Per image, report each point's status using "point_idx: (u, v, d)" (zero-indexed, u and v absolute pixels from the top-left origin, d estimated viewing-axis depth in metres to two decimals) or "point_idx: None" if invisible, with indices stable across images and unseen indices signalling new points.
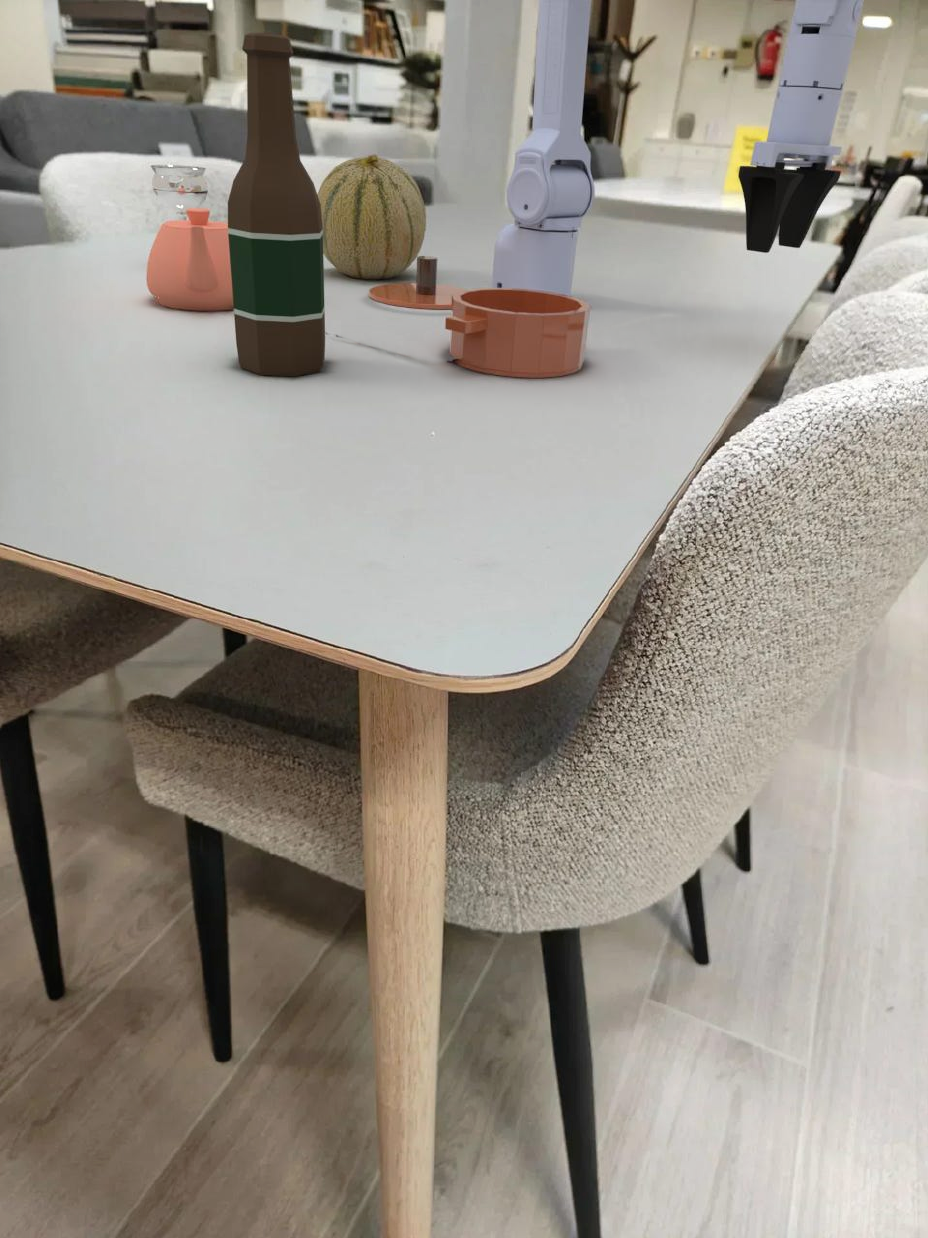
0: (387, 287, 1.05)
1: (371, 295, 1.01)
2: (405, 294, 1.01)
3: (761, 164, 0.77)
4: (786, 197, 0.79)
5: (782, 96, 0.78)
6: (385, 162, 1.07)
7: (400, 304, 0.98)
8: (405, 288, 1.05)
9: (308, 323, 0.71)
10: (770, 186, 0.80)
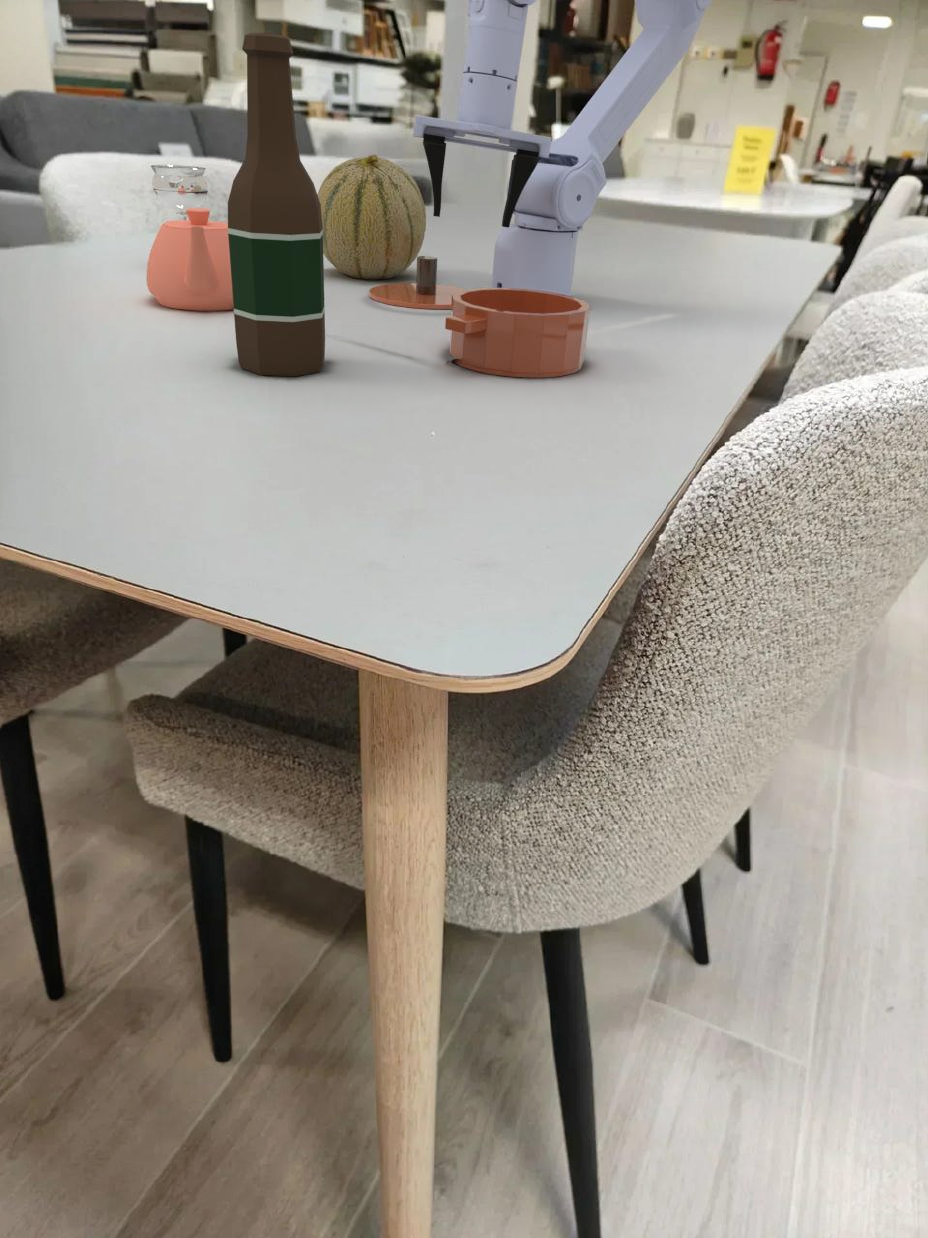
0: (387, 287, 1.05)
1: (371, 295, 1.01)
2: (405, 294, 1.01)
3: None
4: (434, 164, 0.90)
5: None
6: (385, 162, 1.07)
7: (400, 304, 0.98)
8: (405, 288, 1.05)
9: (308, 323, 0.71)
10: None
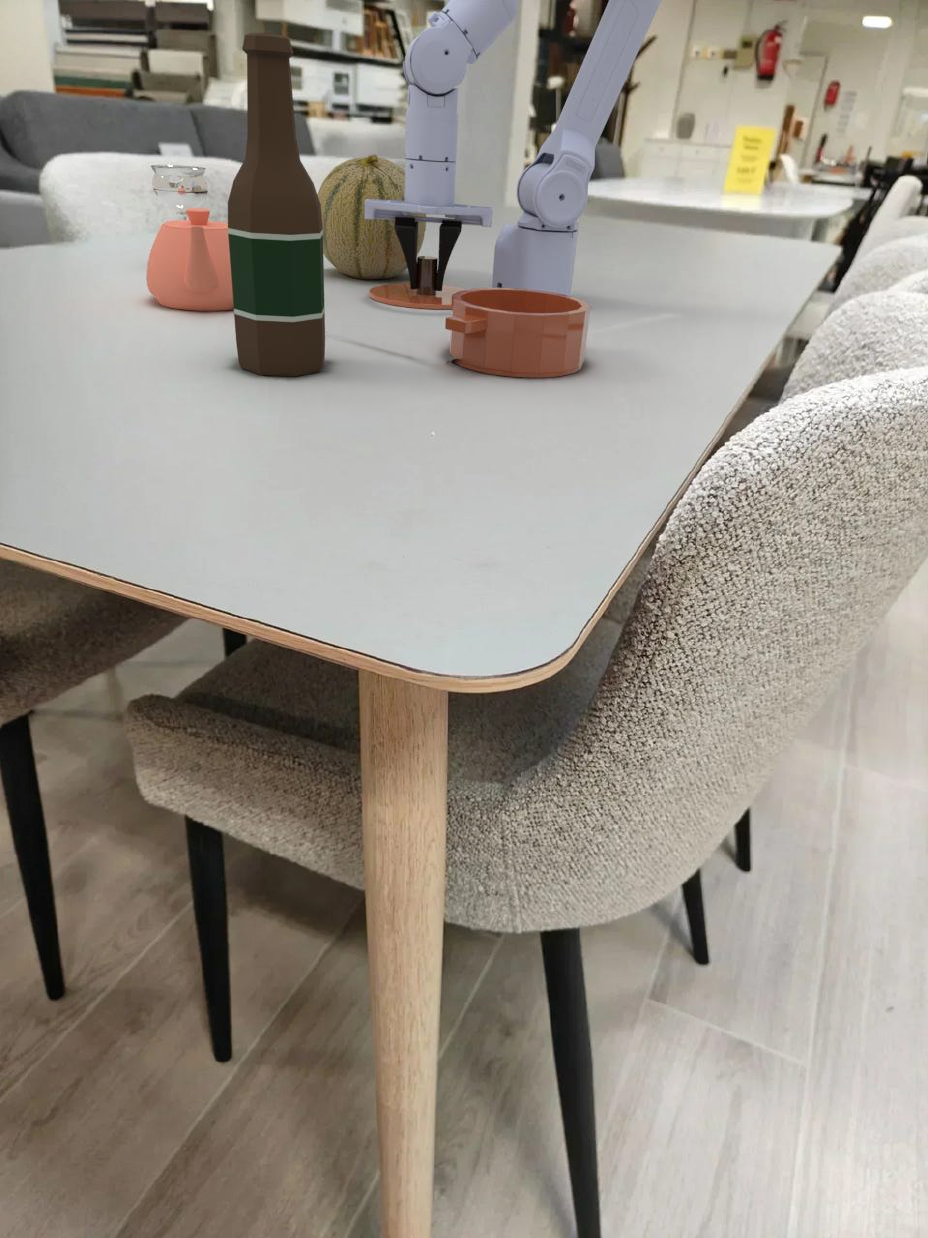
0: (387, 287, 1.05)
1: (371, 295, 1.01)
2: (405, 294, 1.01)
3: None
4: (406, 245, 0.98)
5: None
6: (385, 162, 1.07)
7: (400, 304, 0.98)
8: (405, 288, 1.05)
9: (308, 323, 0.71)
10: None
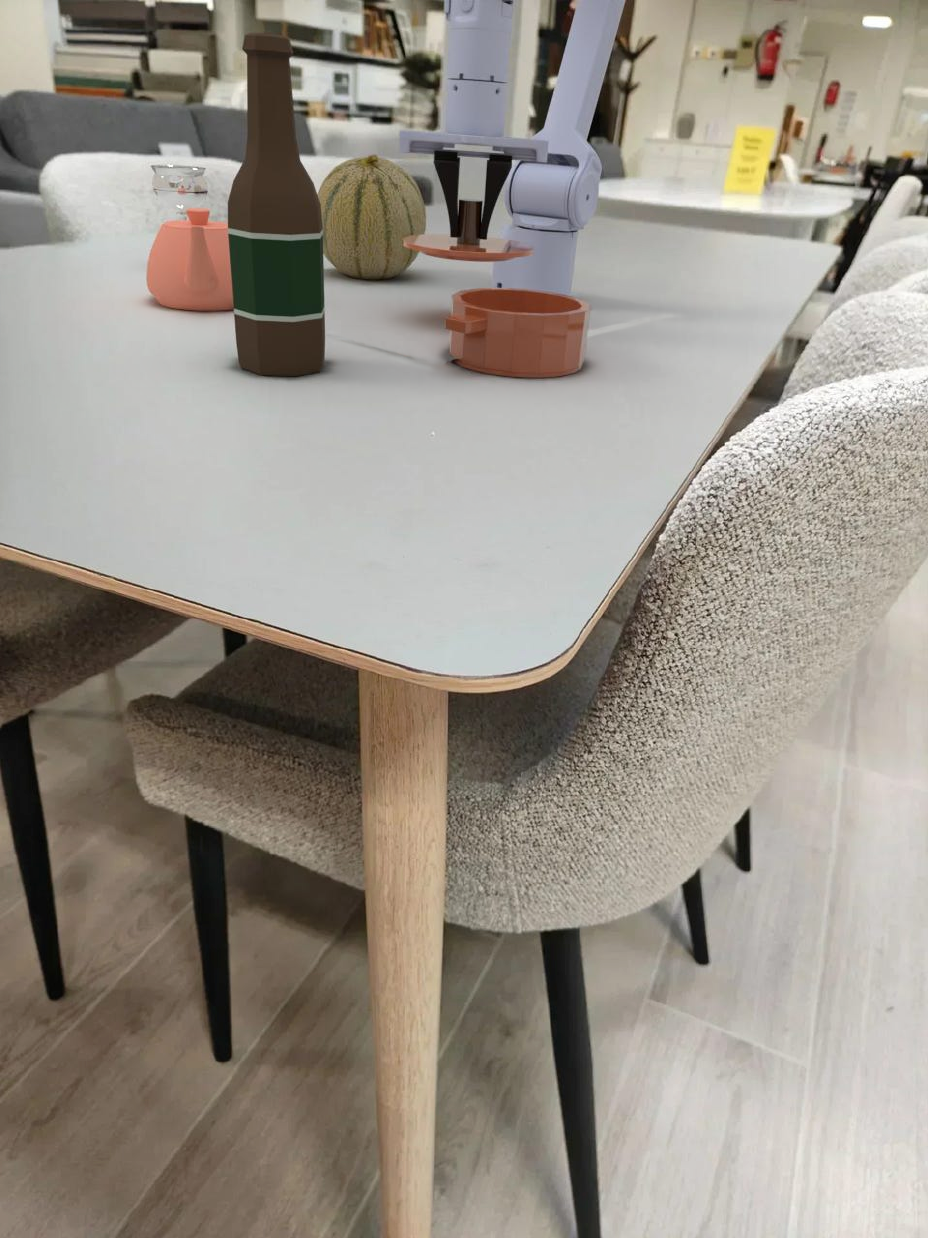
0: (423, 237, 0.90)
1: (405, 243, 0.86)
2: (445, 243, 0.87)
3: None
4: (447, 184, 0.84)
5: None
6: (385, 162, 1.07)
7: (440, 252, 0.83)
8: (443, 238, 0.91)
9: (308, 323, 0.71)
10: None
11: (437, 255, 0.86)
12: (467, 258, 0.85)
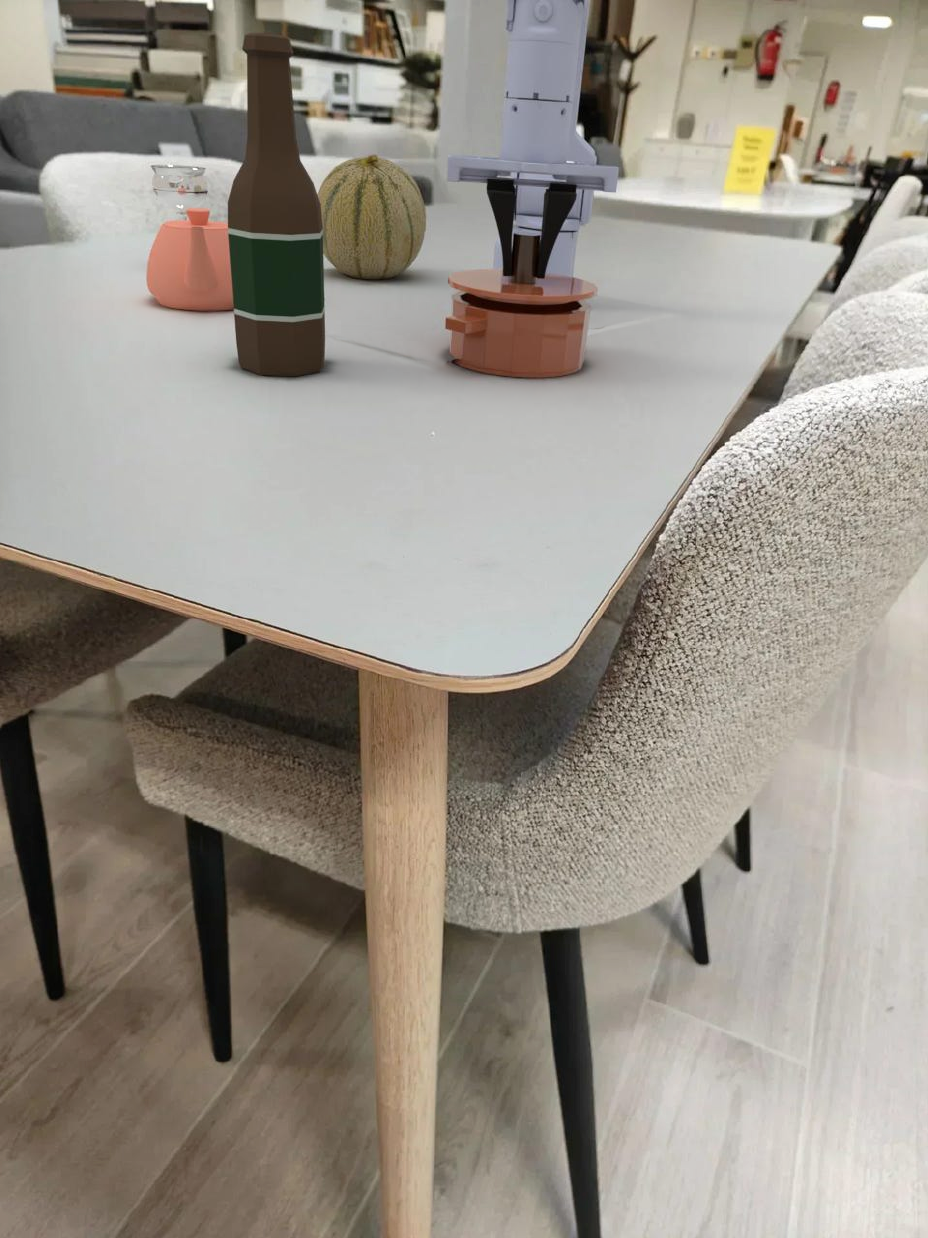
0: (470, 274, 0.80)
1: (453, 284, 0.76)
2: (497, 282, 0.77)
3: None
4: (502, 217, 0.74)
5: None
6: (385, 162, 1.07)
7: (495, 295, 0.73)
8: (493, 275, 0.80)
9: (308, 323, 0.71)
10: None
11: (490, 297, 0.75)
12: (525, 301, 0.74)
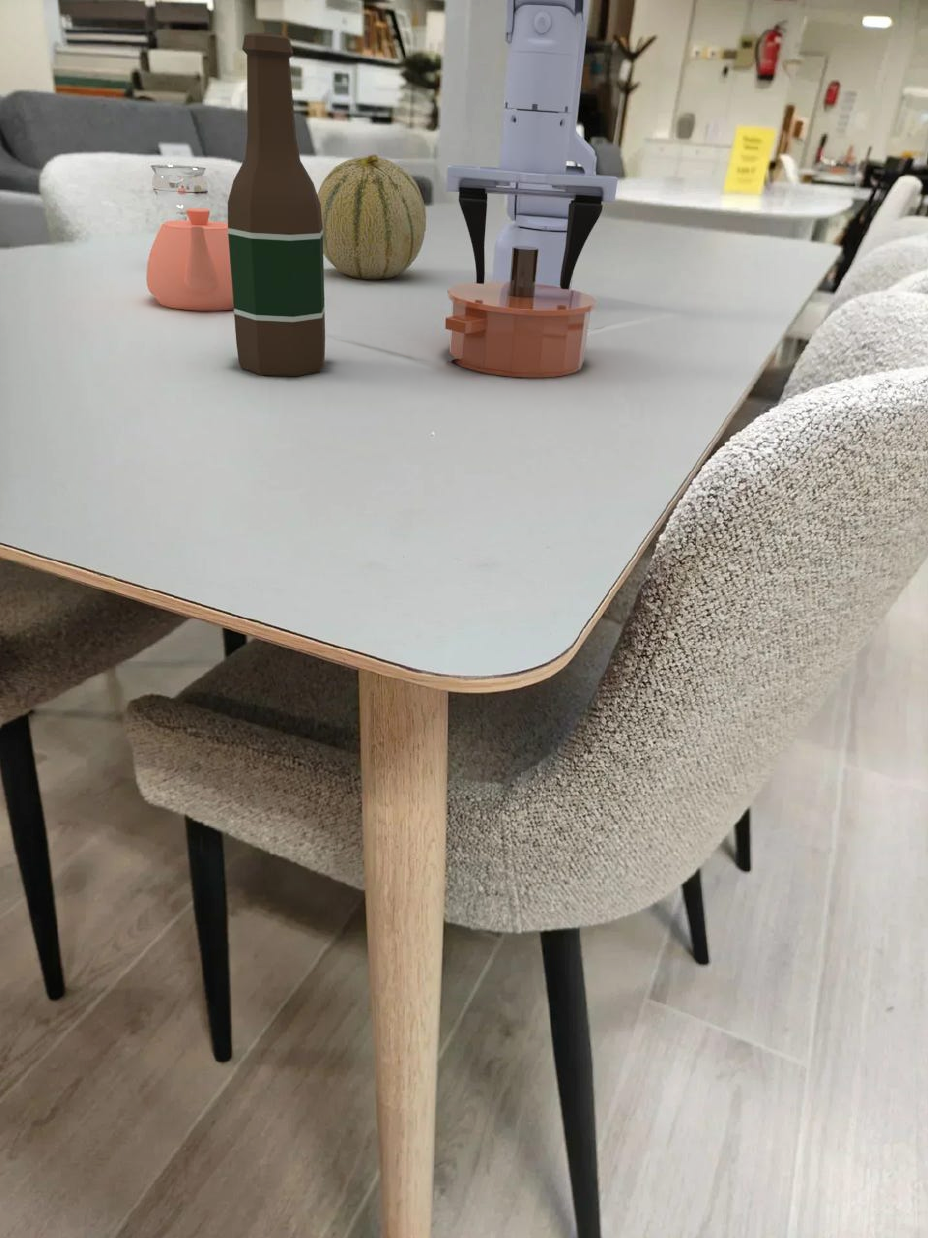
0: (469, 287, 0.81)
1: (452, 297, 0.76)
2: (496, 296, 0.77)
3: None
4: (474, 225, 0.74)
5: None
6: (385, 162, 1.07)
7: (494, 309, 0.73)
8: (492, 288, 0.81)
9: (308, 323, 0.71)
10: None
11: None
12: None
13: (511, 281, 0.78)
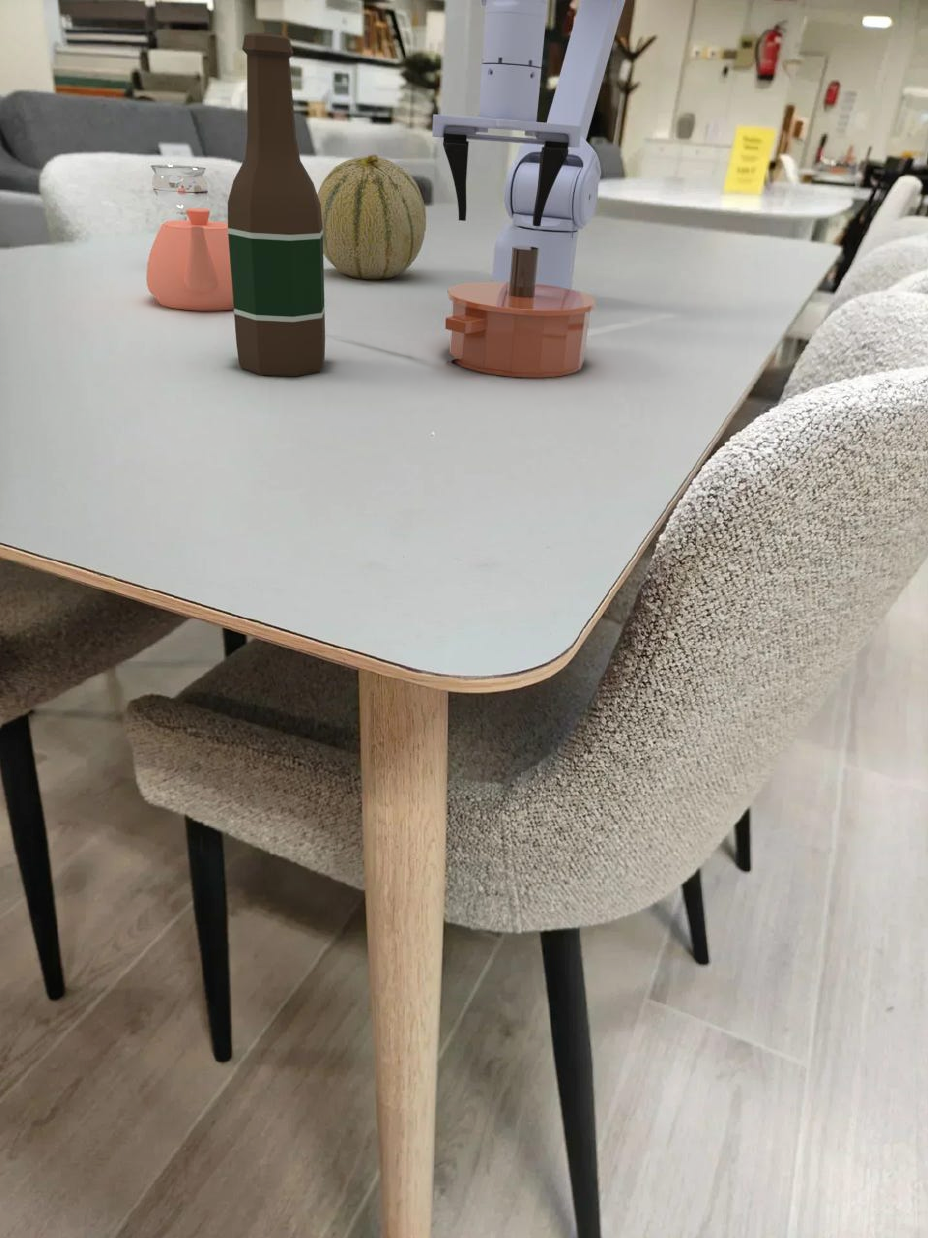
0: (469, 287, 0.81)
1: (452, 297, 0.76)
2: (496, 296, 0.77)
3: None
4: (456, 166, 0.85)
5: None
6: (385, 162, 1.07)
7: (494, 309, 0.73)
8: (492, 288, 0.81)
9: (308, 323, 0.71)
10: None
11: None
12: None
13: (511, 281, 0.78)
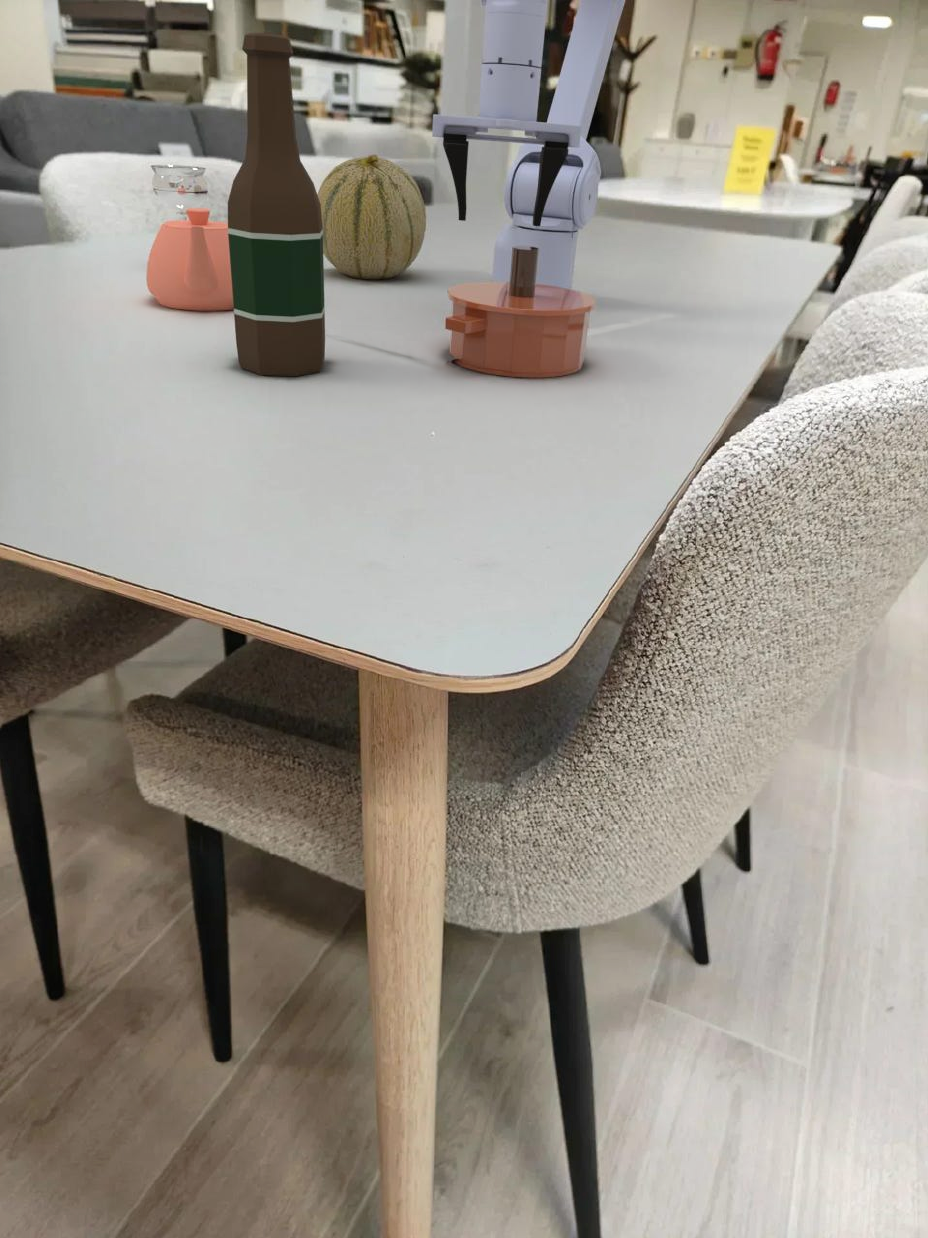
0: (469, 287, 0.81)
1: (452, 297, 0.76)
2: (496, 296, 0.77)
3: None
4: (456, 166, 0.85)
5: None
6: (385, 162, 1.07)
7: (494, 309, 0.73)
8: (492, 288, 0.81)
9: (308, 323, 0.71)
10: None
11: None
12: None
13: (511, 281, 0.78)
